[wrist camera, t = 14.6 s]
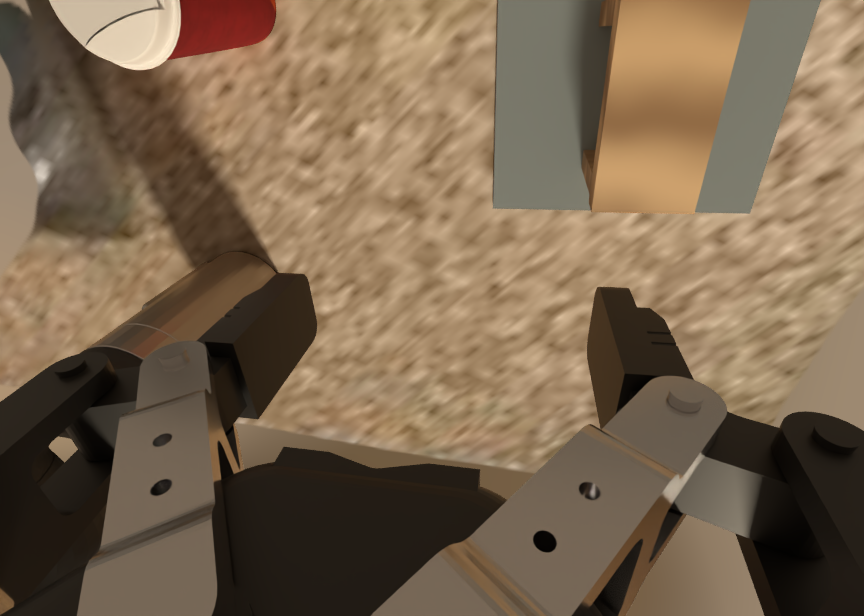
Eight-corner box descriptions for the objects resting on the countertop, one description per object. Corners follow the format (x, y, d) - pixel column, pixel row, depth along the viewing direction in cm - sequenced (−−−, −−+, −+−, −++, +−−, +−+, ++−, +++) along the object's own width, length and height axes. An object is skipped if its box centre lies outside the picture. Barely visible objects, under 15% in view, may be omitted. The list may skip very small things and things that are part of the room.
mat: (493, 206, 39) (493, 208, 39) (499, -54, 30) (499, -56, 30) (746, 210, 35) (749, 213, 35) (844, -87, 26) (850, -89, 26)
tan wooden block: (602, -8, 30) (623, -20, 22) (701, -15, 29) (758, -31, 21) (580, 174, 36) (591, 212, 28) (660, 174, 35) (694, 213, 27)
